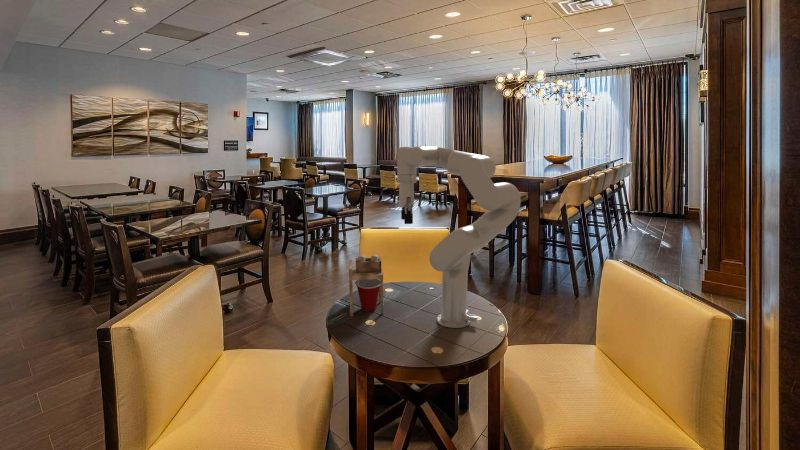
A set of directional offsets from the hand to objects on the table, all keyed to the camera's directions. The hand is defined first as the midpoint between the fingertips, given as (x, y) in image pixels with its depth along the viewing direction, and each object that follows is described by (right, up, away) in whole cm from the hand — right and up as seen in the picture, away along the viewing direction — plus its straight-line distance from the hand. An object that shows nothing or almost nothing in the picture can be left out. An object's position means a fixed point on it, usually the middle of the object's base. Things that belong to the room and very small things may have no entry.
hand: (406, 221), depth 171 cm
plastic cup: (-16, -36, +5) cm, 40 cm away
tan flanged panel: (-17, -36, +4) cm, 40 cm away
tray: (-16, -20, +1) cm, 25 cm away
